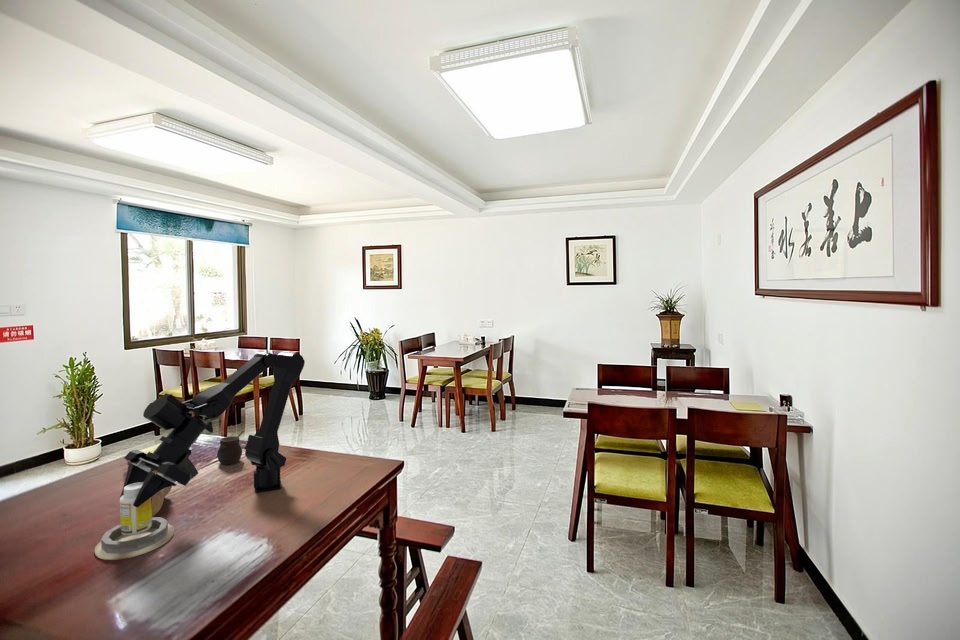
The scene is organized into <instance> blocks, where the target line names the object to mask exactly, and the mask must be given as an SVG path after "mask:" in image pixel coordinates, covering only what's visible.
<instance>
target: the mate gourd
mask: <svg viewBox="0 0 960 640" xmlns="http://www.w3.org/2000/svg"><path fill="white" fill-rule="evenodd" d="M243 433H244V430H242V431H241V432H240V433H239V434H238V435H237V436H235V435H231V436H224V437H222V438H220V439H219V444H220V445H219V448H218V449H217V454H216V457H217V461H218V462H219V463H220V464H221V465H225V466H226V465H227V466H228V465H233V464H236V463H238V461H240V460H241V458H242V455H243V449H242V447H241V444H240V436H241V435H242V434H243Z"/></svg>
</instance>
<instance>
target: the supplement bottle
mask: <svg viewBox="0 0 960 640" xmlns="http://www.w3.org/2000/svg"><path fill="white" fill-rule="evenodd" d="M143 483H144V482H137V483H132V484H129V485H127V486H125V487H124V495H123V496H122V497H121V498H119V519H120V522H119V523H120V524H121V533H122V534H123V535H127V536H131V535H137V534H140V533H143V532H145V531H147V530H148V529H149V528H150V527H151V526H152V509H151V498H149V499H148V500H147V501H145V502H144V503H143V504H142V505H140V506H139V507H135V506H133V504H134V501H135V499H136V497H137V495H138V493H139V491H140V489H141V487H142V485H143Z"/></svg>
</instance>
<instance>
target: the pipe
mask: <svg viewBox="0 0 960 640" xmlns="http://www.w3.org/2000/svg"><path fill="white" fill-rule="evenodd" d="M152 472H153V473H156V474H157V473H158V472H157V471H156V470H154V471H152ZM172 488H173V486H170V487H166V488H163V489H162V490H160V491H159V492H157V493H156V494H155V495H153V496H152V497H151V509H152V517H155V516H156V515H157V514H158V513H159V511H160V510H161V509H162V507H163V504H164V502H165V500H164V499H165V497H166V496H167V495H168V494H169V493H170V492H171V491H172Z"/></svg>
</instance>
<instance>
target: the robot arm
mask: <svg viewBox="0 0 960 640" xmlns="http://www.w3.org/2000/svg"><path fill="white" fill-rule="evenodd" d="M305 361H306V360H305V359H304V357H303V355H301V354H300V353H294V352H293V353H292V352H288V351H286V352H285V351H282V352H279V353H278V354H275V353H271V352H266V351H258V352H256V353H255V354H253V357H251V358H250V359H249V360H248V361H246V363H244V364H243V365H241V366H240V367H239V368H238V369H237V370H235V371H234V372H233V373H231V375H228V377H227V378H225V379H224V380H223V381H222V382H220V383H219V384H216V385H214V386H210V387H208V388H206V389H204V390H203V391H201V392H199V393H197V394H196V395H195V396H194V397H193V398H192V399H188V400H185V401H183V402H182V401H180V400H178V399H177V398H176V396H175V395H173V394H171V393H167V392H166V393H164V395H162V396H161V397H158V398H156V399H155V400H154V401H153V402H150V403H149V404H148V405H147V406H146V407H145V409H144V410H143V418H144V419H146V420H147V421H149V422H151V423H153V424H155V426H158V427H159V428H160V429H163V430H164V431H169V430H171V431H170V432H169V433H168V434H167V435H166V436H164V435H162V436H161V437H160V438H159V439H158V440H159V441H160V442H161V443H160V444H159V445H158V446H157V447H156V449H155V450H154V451H153V452H151V451H148V452H147V453H146V452H144V451H141V450H139V449H132V450H130V451H129V452H128V453H127V454H126V455H125V456H124V457H123V459H124V460H126V461H128V463H127V466H128V467H127V472H126V474H125V480H124V484H123V486H122V489H121V494H120V496H119V497H120V498H121V497H122V496H123V495H124V487H125V486H127V485H129V484H132V483H137V482H144V483H143V485H142V487H141V489H140V491H139V493H138V495H137V497H136V499H135V501H134V504H133V506H135V507H139V506H140V505H142V504H143V503H144V502H145V501H147V500H148V499H149V498H151V497H152V496H153V495H155V494H156V493H157V492H159V491H160V490H162V489H163V488H166V487H170V486H172V487H176V486H177V484H176V482H177V483H178V484H179V485H181V486H185V487H187V485H188V484H189V483H190V482H191V480H193V479H194V478H195V477H196V476H198V475H199V471H198V469H197V468H196V466H195V464H194V463H193V462H192V461H191V459H190V458H189V457H190V456H191V455H192V452H193V450H191V449H190V448H191V447H192V446H193V445H194V444H195V442H196V441H197V439H199V437H200V436H201V435H202V434H203V432H207V433H210V434H211V433H214V428H213V421H211V420H204V419H202V418H201V417H205V418H208V419H217V418H219V417H220V416H223V414H224V413H225V411H227V409H228V408H229V407H230V406H231V404H232V402H233V400H234V398H235V396H237V395H238V394H239V393H240V392H241V391H242V390H244V389H245V387H247V386H248V385H249V384H250V383H251V382H253V381H254V380H255V379H256V378H257V377H258V376H260V375H261V374H262V373H263V372H265V371H266V370H267V369H268V368H269V367H272V374H273V379H274V380H273V384H272V388H271V390H270V393H269V397H268V399H267V404H266V406H265V410H264V413H263V417H262V420H261V422H260V426H259V429H258V431H256V433H254V434H249V435H248V437H247V442H246V444H245V447H243V448H244V450H245V451H244V452H245V453H244V456H246V457H245V458H246V459H247V460H248V461H250V464H251V466H255V470H254V471H253V488H254V489H255V493H260V492H267V491H272V490H279V489H282V481H281V468H282V467H284V466H285V465H286V462H287V457H286V456H284V455H282V454H281V453H280V452H279V449H280V440H279V434H278V431H279V429H280V426H281V421H282V418H283V415H284V412H285V409H286V405H287V402H288V398H289V395H290V392H291V389H292V386H293V383H294V382H295V381H296V380H297V379H298V378H299V377H300V376H301V374H302V371H303V369H304V367H305ZM189 414H192V415H195V416H190V415H189ZM199 416H201V417H199ZM154 470H156V471H157V472H158V473H157V474H156V473H153V472H152V471H154ZM120 498H119V499H120Z"/></svg>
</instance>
